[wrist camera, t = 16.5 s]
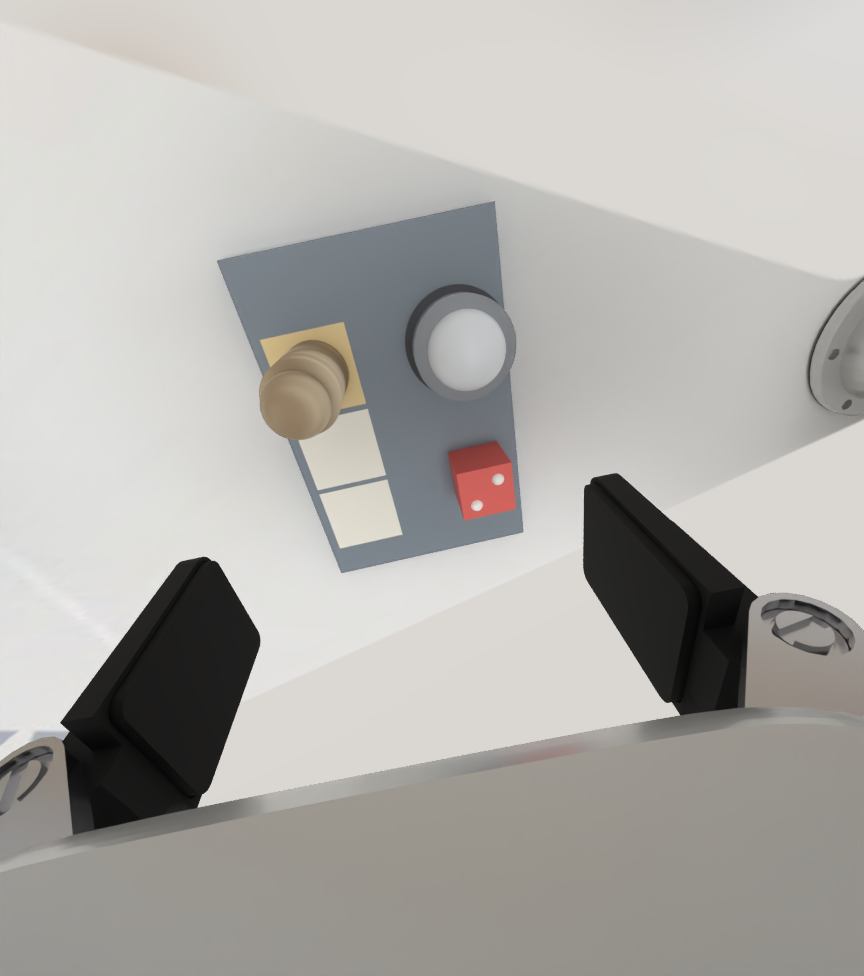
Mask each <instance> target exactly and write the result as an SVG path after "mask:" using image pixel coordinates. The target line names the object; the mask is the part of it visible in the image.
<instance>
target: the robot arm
mask: <svg viewBox="0 0 864 976" xmlns="http://www.w3.org/2000/svg"><path fill="white" fill-rule="evenodd" d="M810 385H811V388H812V391H813V395H814V396H815V398H816V399H817V401H818V402H819V403H820V404H821V405H822V406H824V407H825V408H826V409H828V410H831V411H834V412H837V413H840V414H844V415H849V416H863V415H864V280H863V281H862V282H861V283H860V284H859V285H858V286H857V287H856V288H855V289H854V290H853V291H852V292H851V293H850V294H849V295H848V296H847V297H846V299H845V300H844V301H843V302H842V303H841V305H840V306H839V307H838V308H837V309H836V311H835V312H834V314H833V315H832V317H831V318H830V320H829V321H828V323H827V324H826V326H825V328H824V330H823V332H822V334H821V336H820V338H819V340H818V342H817V344H816V347H815V351H814V354H813V357H812V362H811V368H810ZM583 550H584V551H583V557H584V558H583V568H584V574H585V577H586V579H587V581H588V583H589V585H590V586H591V588H592V589H593V591H594V593H595V594H596V596H597V597H598V599H599V600H600V602H601V604H602V605H603V607H604V608H605V610H606V611H607V613H608V615H609V616H610V618H611V620H612V621H613V623H614V624H615V626H616V628H617V629H618V631H619V632H620V634H621V635H622V637H623V638H624V640H625V642H626V643H627V645H628V647H629V648H630V650H631V651H632V653H633V654H634V656H635V658H636V659H637V661H638V662H639V664H640V666H641V667H642V669H643V670H644V672H645V673H646V675H647V677H648V678H649V680H650V681H651V683H652V685H653V686H654V688H655V689H656V691H657V693H658V694H659V696H660V697H661V698H662V699H663V700H664V701H665V702H666V703H669V702H672V703H673V704H674V706H675V707H676V709H677V711H678V712H679V714H680V715H681V716H675V717H669V718H663V719H657V720H651V721H646V722H640V723H634V724H628V725H622V726H617V727H611V728H605V729H599V730H594V731H589V732H584V733H578V734H573V735H568V736H562V737H557V738H552V739H547V740H541V741H536V742H531V743H526V744H521V745H515V746H510V747H505V748H499V749H494V750H489V751H484V752H478V753H473V754H468V755H462V756H457V757H452V758H447V759H442V760H437V761H432V762H427V763H421V764H417V765H412V766H406V767H401V768H396V769H391V770H386V771H380V772H375V773H370V774H365V775H361V776H355V777H350V778H345V779H340V780H335V781H329V782H325V783H319V784H314V785H309V786H304V787H299V788H294V789H289V790H284V791H279V792H274V793H269V794H264V795H260V796H254V797H249V798H245V799H239V800H234V801H230V802H225V803H219V804H215V805H210V806H205V807H200V808H197V807H198V804H199V801H200V799H201V796H202V794H204V793H205V792H206V791H207V790H208V788H209V787H210V785H211V782H212V780H213V777H214V774H215V771H216V768H217V766H218V763H219V760H220V757H221V754H222V752H223V749H224V746H225V743H226V740H227V737H228V735H229V732H230V729H231V726H232V723H233V721H234V718H235V715H236V712H237V709H238V707H239V704H240V701H241V698H242V695H243V692H244V690H245V687H246V684H247V681H248V678H249V676H250V673H251V670H252V667H253V664H254V661H255V659H256V656H257V653H258V650H259V647H260V635H259V632H258V630H257V629H256V627H255V625H254V624H253V622H252V620H251V618H250V617H249V615H248V613H247V612H246V610H245V608H244V606H243V605H242V603H241V601H240V600H239V598H238V596H237V595H236V593H235V591H234V589H233V588H232V586H231V584H230V583H229V581H228V579H227V577H226V576H225V574H224V572H223V571H222V569H221V567H220V566H219V564H218V563H217V562H216V561H211V560H210V559H209V558H207V557H200V558H196V559H191V560H186V561H182V562H179V563H178V564H177V565H176V567H175V568H174V569H173V571H172V572H171V573H170V575H169V576H168V578H167V579H166V580H165V582H164V583H163V584H162V586H161V587H160V588H159V590H158V591H157V592H156V594H155V595H154V596H153V598H152V599H151V601H150V602H149V603H148V605H147V606H146V607H145V609H144V610H143V611H142V613H141V614H140V615H139V617H138V618H137V620H136V621H135V622H134V624H133V625H132V626H131V628H130V629H129V630H128V632H127V633H126V634H125V636H124V637H123V638H122V640H121V641H120V643H119V644H118V645H117V647H116V648H115V649H114V651H113V652H112V653H111V655H110V656H109V657H108V659H107V660H106V662H105V663H104V664H103V666H102V667H101V668H100V670H99V671H98V672H97V674H96V675H95V676H94V678H93V679H92V680H91V682H90V683H89V685H88V686H87V687H86V689H85V690H84V691H83V693H82V694H81V695H80V697H79V698H78V699H77V701H76V702H75V704H74V705H73V706H72V708H71V709H70V710H69V712H68V713H67V714H66V716H65V717H64V718H63V720H62V721H61V722H60V723H61V724H62V725H63V726H64V727H65V728H67V729H68V730H69V731H70V732H69V733H68V735H67V736H66V737H65V739H64V740H63V741H62V740H61V739H58V738H56V737H46V738H41V739H38V740H36V741H33V742H30V743H28V744H26V745H24V746H23V747H21V748H19V749H17V750H16V751H14V752H12V753H11V754H9V755H8V756H7V757H5V758H4V759H3V760H1V761H0V976H864V630H862V628H861V627H860V626H859V625H858V624H857V623H856V622H855V621H854V620H853V619H852V618H850V617H849V616H847V615H846V614H844V613H843V612H841V611H840V610H838V609H837V608H834V607H832V606H830V605H828V604H826V603H824V602H822V601H819V600H816V599H813V598H810V597H806V596H803V595H797V594H791V593H770V594H767V595H763V596H760V597H758V596H756V595H755V594H754V593H753V592H752V591H751V590H750V589H749V588H747V587H746V586H745V585H744V584H743V583H742V582H741V581H740V580H738V579H737V578H736V577H735V576H734V575H733V574H732V573H731V572H729V571H728V570H727V569H726V568H725V567H724V566H723V565H722V564H720V563H719V562H718V561H717V560H716V559H715V558H714V557H713V556H711V555H710V554H709V553H708V552H707V551H706V550H705V549H704V548H702V547H701V546H700V545H699V544H698V543H696V542H695V540H693V539H692V538H691V537H690V536H689V535H688V534H686V533H685V532H684V531H683V530H682V529H681V528H680V527H679V526H677V525H676V524H675V523H674V522H673V521H671V520H670V519H669V518H667V517H666V516H665V515H664V514H663V513H662V512H661V511H660V510H659V509H658V508H656V507H655V506H654V505H653V504H652V503H651V502H650V501H649V500H647V499H646V498H645V497H644V496H643V495H642V494H641V493H640V492H638V491H637V490H636V489H635V488H634V487H633V486H632V485H631V484H629V483H628V482H627V481H626V480H625V479H624V478H623V477H622V476H620V475H619V474H617V473H614V474H609V475H604V476H599V477H594V478H593V479H592V480H591V483H590V484H589V485H586V486H585V488H584V547H583Z"/></svg>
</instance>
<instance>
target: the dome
mask: <svg viewBox="0 0 864 976" xmlns="http://www.w3.org/2000/svg"><path fill="white" fill-rule="evenodd" d="M412 350H413V357H414V360H415V363H416V366H417V368H418V371H419V373H420V375H421V377H422V379H423V380H424V382H425V383H426V384H427V386H428V387H429V388H430V389H431V390H433V391H434V392H435V393H437V394H438V395H440V396H442V397H444V398H447V399H450V400H454V401H470V400H475V399H478V398H481V397H483V396H485V395H487V394H489V393H490V392H492V391H493V390H494V389H496V388H497V387H498V386H499V385H500V384H501V383H502V381H503V380H504V379H505V377H506V376H507V374H508V373H509V371H510V369H511V367H512V364H513V361H514V357H515V352H516V336H515V331H514V327H513V324H512V322H511V320H510V318H509V316H508V315H507V313H506V312H505V311H504V309H503V308H502V307H501V306H500V305H499V304H498V303H496V302H495V301H493V300H492V299H490V298H488V297H486V296H482V295H479V294H475V293H469V292H455V293H450V294H447V295H444V296H442V297H440V298H438V299H437V300H435V301H434V302H433V303H431V304H430V305H429V306H428V307H427V308H426V309H425V310H424V312H423V313H422V315H421V316H420V318H419V320H418V322H417V324H416V327H415V329H414V334H413V340H412Z"/></svg>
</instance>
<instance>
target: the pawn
mask: <svg viewBox="0 0 864 976" xmlns="http://www.w3.org/2000/svg"><path fill="white" fill-rule="evenodd" d="M348 381H349V371H348V367H347V364H346V361H345V360H344V358H343V356H342V355H341V354H340V352H339V351H338V350H337V349H335V348H334V347H333V346H331V345H329V344H327V343H325V342H322V341H318V340H306V341H302V342H300V343H298V344H296V345H295V346H293V347H292V348H291V349H290V350H289V351H288V352H287V353H285V354H284V355H283V356H282V357H281V358H280V359H279V360H278V361H277V362H276V363H275V364H273V365H272V366H271V367H270V368H269V369H268V370H267V371H266V373H265V374H264V376H263V378H262V380H261V383H260V388H259V398H260V410H261V413H262V416H263V419H264V420H265V422H266V424H267V425H268V426H269V427H270V428H271V429H272V430H273V431H274V432H275V433H277V434H278V435H280V436H282V437H285V438H287V439H291V440H305V439H309V438H312V437H314V436H316V435H317V434H320V433H322V432H324V431H326V430H327V429H329V428H330V427H331V426H332V425H333V424H334V422H335V421H336V419H337V418H338V416H339V413H340V410H341V406H342V403H343V399H344V396H345V392H346V389H347V385H348Z"/></svg>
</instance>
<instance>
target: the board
mask: <svg viewBox="0 0 864 976" xmlns="http://www.w3.org/2000/svg"><path fill="white" fill-rule="evenodd" d="M217 263H218V265H219V268H220V270H221V273H222V275H223V278H224V280H225V283H226V285H227V288H228V290H229V293H230V295H231V298H232V300H233V303H234V305H235V308H236V310H237V313H238V315H239V318H240V320H241V323H242V325H243V328H244V330H245V333H246V335H247V338H248V340H249V343H250V345H251V348H252V350H253V353H254V355H255V358H256V360H257V363H258V365H259V368H260V370H261V373H262V375H263V376H264V374H265V373H266V371H267V370H268V369H269V368H270V367H271V366H272V365H273V364H275V363H276V362H277V361H278V360H279V359H280V358H281V357H282V356H283V355H284V354H285V353H287V352H288V351H289V350H290V349H291V348H292V347H293V346H295V345H296V344H298V343H300V342H302V341H306V340H318V341H322V342H325V343H327V344H329V345H331V346H333V347H334V348H335V349H337V350H338V351H339V352H340V354H341V355H342V356H343V358H344V360H345V361H346V364H347V367H348V371H349V381H348V385H347V389H346V392H345V396H344V399H343V403H342V406H341V410H340V413H339V416H338V418H337V419H336V421H335V422H334V424H333V425H332V426H331V427H330V428H329V429H327V430H326V431H324V432H322V433H320V434H317V435H316V436H314V437H312V438H309V439H305V440H291V439H288V440H289V443H290V445H291V448H292V451H293V453H294V456H295V458H296V461H297V463H298V466H299V468H300V471H301V473H302V476H303V478H304V481H305V483H306V486H307V488H308V491H309V493H310V496H311V498H312V501H313V503H314V506H315V508H316V511H317V513H318V516H319V518H320V521H321V523H322V526H323V528H324V531H325V533H326V536H327V538H328V541H329V543H330V546H331V548H332V551H333V553H334V556H335V558H336V561H337V563H338V566H339V568H340V571H341V573H344V572H349V571H353V570H358V569H362V568H367V567H371V566H376V565H380V564H384V563H389V562H393V561H398V560H402V559H407V558H411V557H415V556H420V555H424V554H429V553H433V552H438V551H442V550H447V549H451V548H455V547H460V546H464V545H469V544H473V543H478V542H482V541H486V540H491V539H495V538H500V537H504V536H509V535H513V534H518V533H522V532H523V522H522V511H521V499H520V488H519V476H518V465H517V453H516V442H515V430H514V419H513V407H512V396H511V384H510V372H509V373H508V374H507V376H506V377H505V379H504V380H503V381H502V383H501V384H500V385H499V386H498V387H497V388H496V389H494V390H493V391H492V392H490V393H489V394H487V395H485V396H483V397H481V398H478V399H475V400H470V401H454V400H450V399H447V398H444V397H442V396H440V395H438V394H437V393H435V392H434V391H433V390H431V389H430V388H429V387H428V386H427V384H426V383H425V382H424V380H423V379H422V377H421V375H420V373H419V371H418V368H417V366H416V363H415V360H414V357H413V350H412V340H413V334H414V329H415V327H416V324H417V322H418V320H419V318H420V316H421V315H422V313H423V312H424V310H425V309H426V308H427V307H428V306H429V305H430V304H431V303H433V302H434V301H435V300H437V299H438V298H440V297H442V296H444V295H447V294H450V293H455V292H469V293H475V294H479V295H482V296H486V297H488V298H490V299H492V300H493V301H495V302H496V303H498V304H499V305H500V306H501V307H502V308H503V309H504V303H503V292H502V280H501V269H500V257H499V246H498V234H497V223H496V211H495V201H494V202H489V203H484V204H480V205H475V206H470V207H466V208H461V209H456V210H452V211H447V212H442V213H438V214H433V215H428V216H423V217H419V218H414V219H409V220H405V221H400V222H395V223H391V224H386V225H381V226H377V227H372V228H367V229H363V230H358V231H353V232H349V233H344V234H339V235H335V236H330V237H325V238H321V239H316V240H311V241H307V242H302V243H297V244H293V245H288V246H283V247H279V248H274V249H269V250H265V251H260V252H255V253H251V254H246V255H241V256H237V257H232V258H227V259H223V260H218V261H217Z"/></svg>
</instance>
